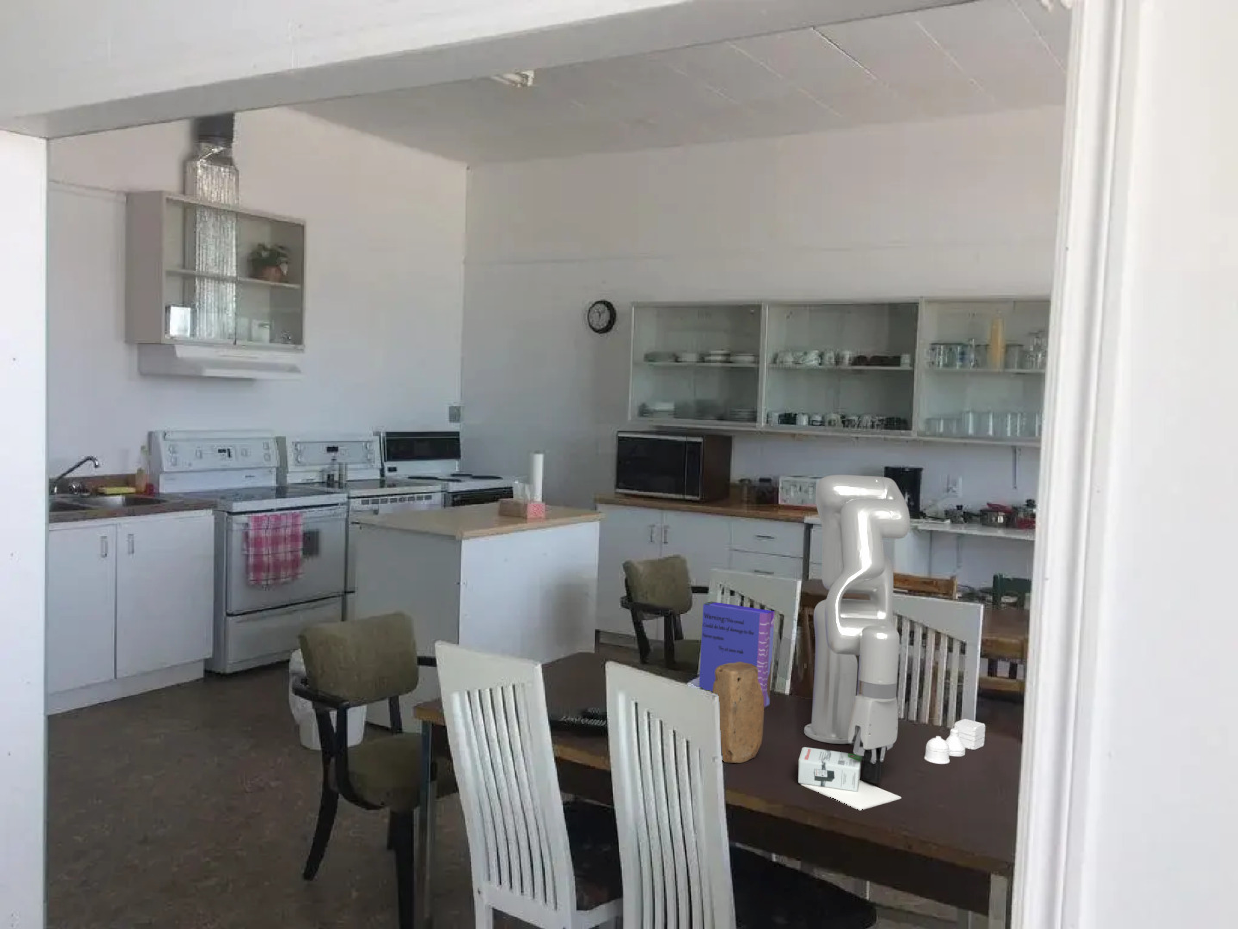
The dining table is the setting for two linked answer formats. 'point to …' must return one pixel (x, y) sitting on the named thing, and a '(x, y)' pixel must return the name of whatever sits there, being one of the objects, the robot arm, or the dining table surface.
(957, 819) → the dining table surface
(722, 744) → the block
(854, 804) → the mat
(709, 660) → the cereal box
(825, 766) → the ink box
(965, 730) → the container set
